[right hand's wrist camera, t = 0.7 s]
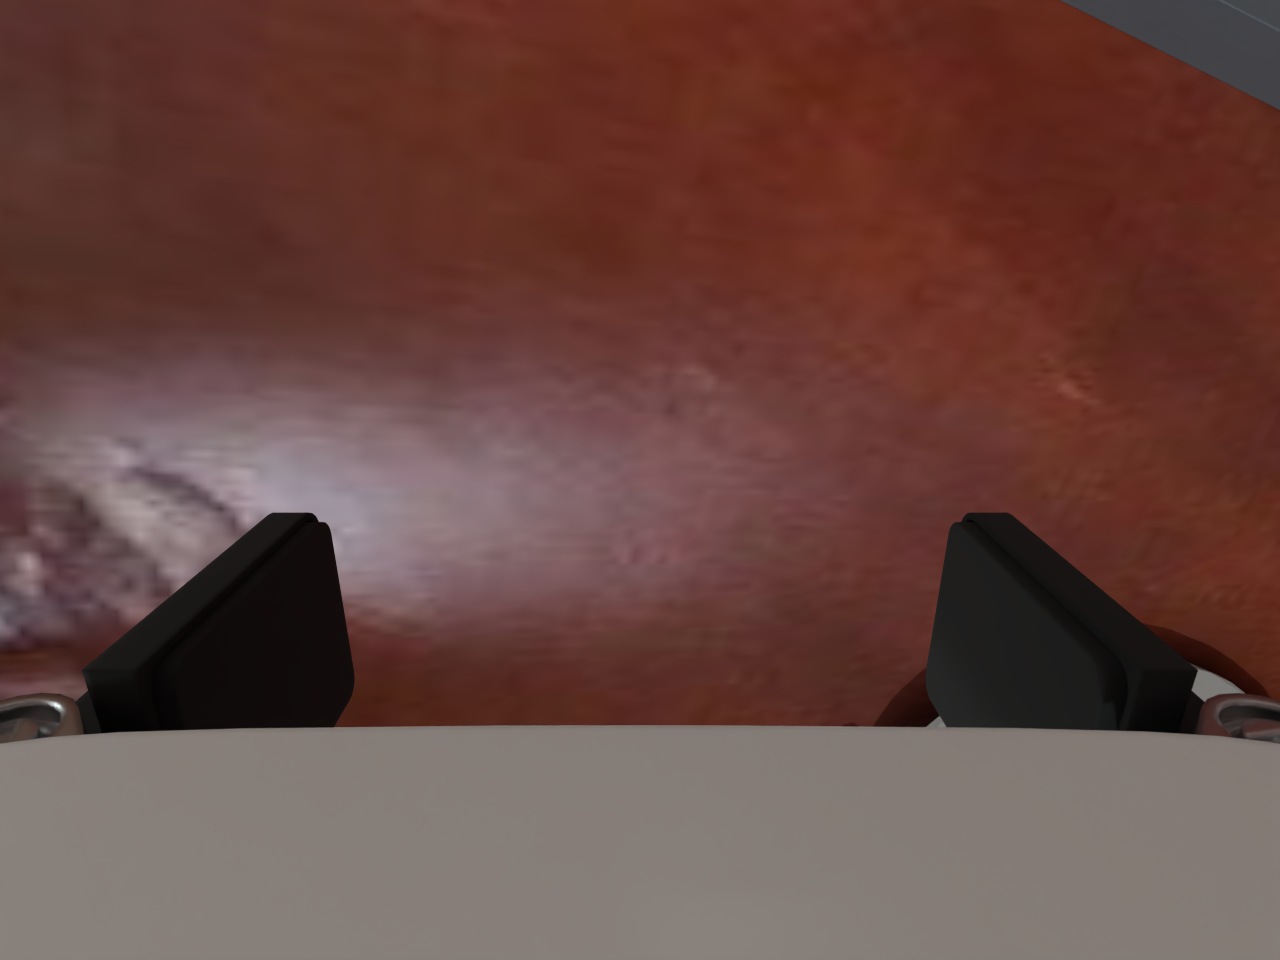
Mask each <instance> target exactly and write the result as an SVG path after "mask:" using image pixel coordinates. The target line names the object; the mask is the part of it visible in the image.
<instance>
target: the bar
mask: <svg viewBox="0 0 1280 960" xmlns="http://www.w3.org/2000/svg"><path fill="white" fill-rule="evenodd" d="M1061 1H1063V2H1065V3H1067V4H1069V5H1071V6H1073V7H1075V8H1077V9H1079V10H1081V11H1083V12H1085V13H1087V14H1089V15H1091V16H1093V17H1095V18H1097V19H1099V20H1101V21H1103V22H1105V23H1107V24H1109V25H1111V26H1113V27H1115V28H1117V29H1119V30H1121V31H1123V32H1125V33H1127V34H1129V35H1131V36H1133V37H1135V38H1137V39H1139V40H1141V41H1143V42H1145V43H1147V44H1149V45H1151V46H1153V47H1155V48H1157V49H1159V50H1161V51H1163V52H1165V53H1167V54H1169V55H1171V56H1173V57H1175V58H1177V59H1179V60H1181V61H1183V62H1185V63H1187V64H1189V65H1191V66H1193V67H1195V68H1197V69H1199V70H1201V71H1203V72H1205V73H1207V74H1209V75H1211V76H1213V77H1215V78H1217V79H1219V80H1221V81H1223V82H1225V83H1227V84H1229V85H1231V86H1233V87H1235V88H1237V89H1239V90H1241V91H1243V92H1245V93H1247V94H1249V95H1251V96H1253V97H1255V98H1257V99H1259V100H1261V101H1263V102H1265V103H1267V104H1269V105H1271V106H1273V107H1275V108H1277V109H1279V110H1280V0H1061Z"/></svg>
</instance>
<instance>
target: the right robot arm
mask: <svg viewBox="0 0 1280 960" xmlns="http://www.w3.org/2000/svg"><path fill="white" fill-rule="evenodd" d="M82 672H83V675H84V678H85V682H86V685H87V688H88V691H87V692H86V693H85V694H84V695H83V696H82V697H80V698H79V699H78V700H77V701H76V702H75V701H74V700H73V699H72V698H69V697H67V696H64V695H61V694H51V693H37V694H29V695H21V696H16V697H12V698H8V699H4V700H0V960H1280V700H1276V699H1272V698H1268V697H1264V696H1259V695H1251V694H1243V693H1229V694H1219V695H1216V696H1213V697H1211V698H1208V699H1207V700H1206V701H1205V702H1204V701H1203V700H1202V699H1201V698H1200V697H1198V696H1197V695H1196V694H1195V693H1194V692H1193V691H1192V688H1193V685H1194V682H1195V678H1196V675H1197V672H1198V670H1197V669H1196V668H1195V667H1194V666H1192V665H1191V664H1190V663H1189V662H1188V661H1186V660H1185V659H1184V658H1183V657H1182V656H1180V655H1179V654H1178V653H1177V652H1176V651H1174V650H1173V649H1172V648H1171V647H1170V646H1168V645H1167V644H1166V643H1165V642H1164V641H1162V640H1161V639H1160V638H1159V637H1158V636H1156V635H1155V634H1154V633H1153V632H1152V631H1150V630H1149V629H1148V628H1147V627H1146V626H1144V625H1143V624H1142V623H1141V622H1140V621H1138V620H1137V619H1136V618H1135V617H1134V616H1132V615H1131V614H1130V613H1129V612H1128V611H1126V610H1125V609H1124V608H1123V607H1122V606H1120V605H1119V604H1118V603H1117V602H1116V601H1114V600H1113V599H1112V598H1111V597H1110V596H1108V595H1107V594H1106V593H1105V592H1104V591H1102V590H1101V589H1100V588H1099V587H1098V586H1096V585H1095V584H1094V583H1093V582H1092V581H1090V580H1089V579H1088V578H1087V577H1086V576H1084V575H1083V574H1082V573H1081V572H1080V571H1078V570H1077V569H1076V568H1075V567H1074V566H1072V565H1071V564H1070V563H1069V562H1068V561H1066V560H1065V559H1064V558H1063V557H1062V556H1060V555H1059V554H1058V553H1057V552H1056V551H1054V550H1053V549H1052V548H1051V547H1050V546H1048V545H1047V544H1046V543H1045V542H1044V541H1042V540H1041V539H1040V538H1039V537H1038V536H1036V535H1035V534H1034V533H1033V532H1032V531H1030V530H1029V529H1028V528H1027V527H1026V526H1024V525H1023V524H1022V523H1021V522H1020V521H1018V520H1017V519H1016V518H1015V517H1014V516H1012V515H1011V514H1009V513H967V514H966V515H965V516H964V517H963V519H962V521H961V522H955V523H954V524H953V525H952V526H951V528H950V531H949V535H948V542H947V548H946V554H945V560H944V566H943V572H942V578H941V584H940V590H939V596H938V602H937V608H936V614H935V621H934V627H933V633H932V639H931V645H930V651H929V657H928V663H927V669H926V688H927V692H928V696H929V698H930V700H931V702H932V704H933V705H934V707H935V709H936V710H937V712H938V714H939V715H940V717H941V719H942V721H943V722H944V724H945V726H946V727H839V726H685V725H614V726H426V727H334V726H335V724H336V722H337V721H338V719H339V717H340V715H341V714H342V712H343V710H344V709H345V707H346V705H347V704H348V702H349V700H350V698H351V696H352V692H353V688H354V669H353V663H352V657H351V651H350V645H349V639H348V633H347V627H346V621H345V614H344V608H343V602H342V596H341V590H340V584H339V578H338V572H337V566H336V560H335V554H334V548H333V542H332V535H331V531H330V528H329V526H328V525H327V524H326V523H325V522H319V521H318V519H317V517H316V516H315V515H314V514H313V513H271V514H269V515H268V516H266V517H265V518H264V519H263V520H262V521H260V522H259V523H258V524H257V525H256V526H254V527H253V528H252V529H251V530H250V531H248V532H247V533H246V534H245V535H244V536H242V537H241V538H240V539H239V540H238V541H236V542H235V543H234V544H233V545H232V546H230V547H229V548H228V549H227V550H226V551H224V552H223V553H222V554H221V555H220V556H218V557H217V558H216V559H215V560H214V561H212V562H211V563H210V564H209V565H208V566H206V567H205V568H204V569H203V570H202V571H200V572H199V573H198V574H197V575H196V576H194V577H193V578H192V579H191V580H190V581H188V582H187V583H186V584H185V585H184V586H182V587H181V588H180V589H179V590H178V591H176V592H175V593H174V594H173V595H172V596H170V597H169V598H168V599H167V600H166V601H164V602H163V603H162V604H161V605H160V606H158V607H157V608H156V609H155V610H154V611H152V612H151V613H150V614H149V615H148V616H146V617H145V618H144V619H143V620H142V621H140V622H139V623H138V624H137V625H136V626H134V627H133V628H132V629H131V630H130V631H128V632H127V633H126V634H125V635H124V636H122V637H121V638H120V639H119V640H118V641H116V642H115V643H114V644H113V645H112V646H110V647H109V648H108V649H107V650H106V651H104V652H103V653H102V654H101V655H100V656H98V657H97V658H96V659H95V660H94V661H92V662H91V663H90V664H89V665H88V666H86V667H85V668H84V669H83V670H82Z"/></svg>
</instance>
